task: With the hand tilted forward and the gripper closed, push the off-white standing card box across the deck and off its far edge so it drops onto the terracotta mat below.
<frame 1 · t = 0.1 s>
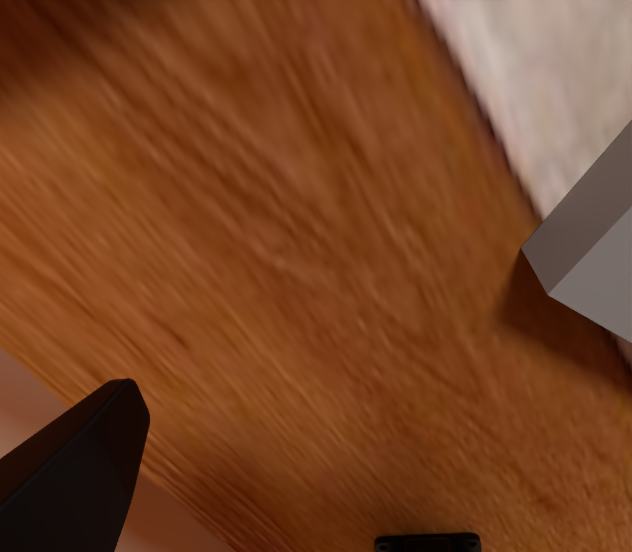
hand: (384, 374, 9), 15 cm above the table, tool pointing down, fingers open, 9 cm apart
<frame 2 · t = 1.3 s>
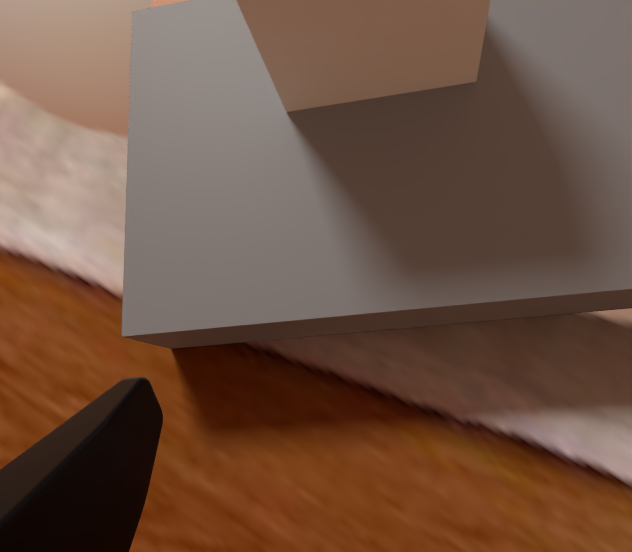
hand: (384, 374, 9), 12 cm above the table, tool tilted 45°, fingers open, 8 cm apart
card box: (373, 50, 20), point 4 cm above the table, touching deck
deck: (387, 169, 23), on the table
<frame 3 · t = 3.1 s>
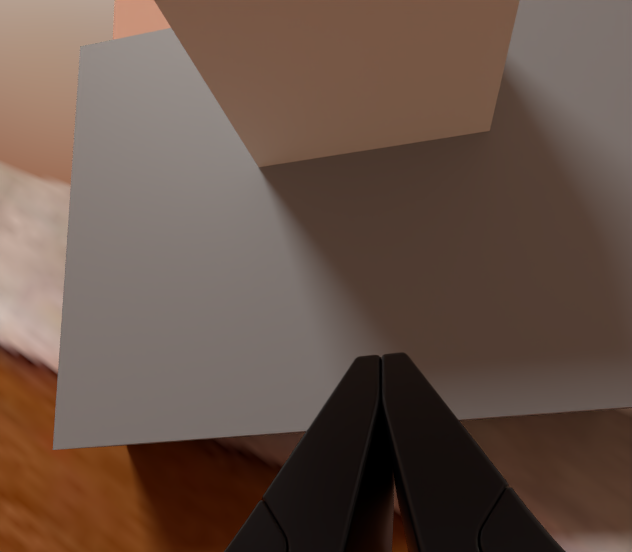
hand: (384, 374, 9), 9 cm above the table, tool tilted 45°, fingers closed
card box: (363, 92, 17), point 4 cm above the table, touching deck
deck: (382, 227, 20), on the table
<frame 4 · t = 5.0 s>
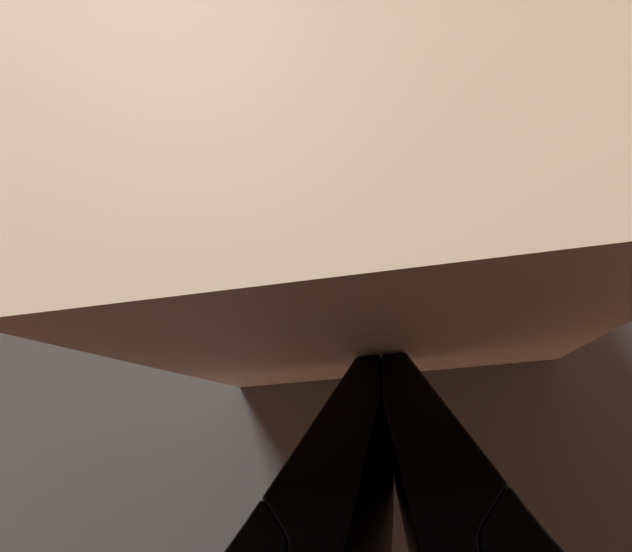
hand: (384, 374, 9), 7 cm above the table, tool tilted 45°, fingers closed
card box: (381, 287, 12), point 4 cm above the table
deck: (407, 471, 15), on the table
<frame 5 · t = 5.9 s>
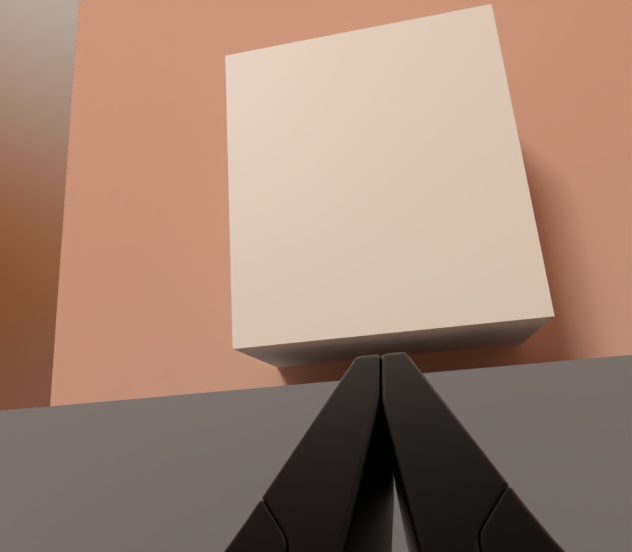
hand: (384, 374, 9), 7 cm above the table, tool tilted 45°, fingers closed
card box: (390, 346, 14), point 2 cm above the table, tilted 90°, touching mat
mat: (370, 137, 18), on the table
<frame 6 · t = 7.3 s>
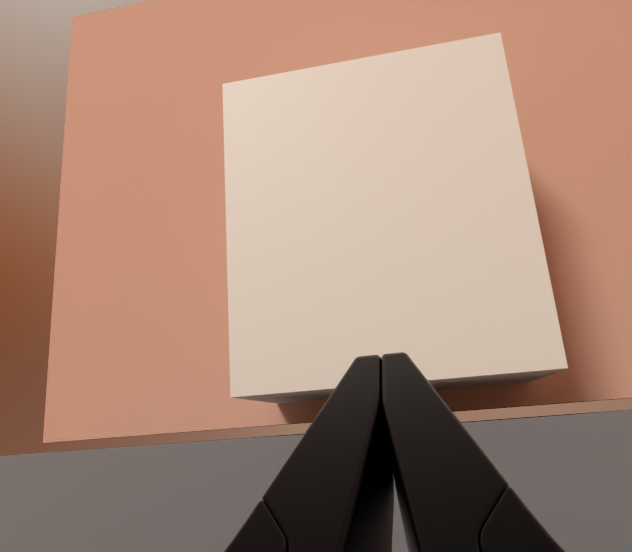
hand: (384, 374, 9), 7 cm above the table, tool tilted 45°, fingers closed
card box: (395, 389, 13), point 2 cm above the table, tilted 90°, touching mat
mat: (372, 162, 17), on the table
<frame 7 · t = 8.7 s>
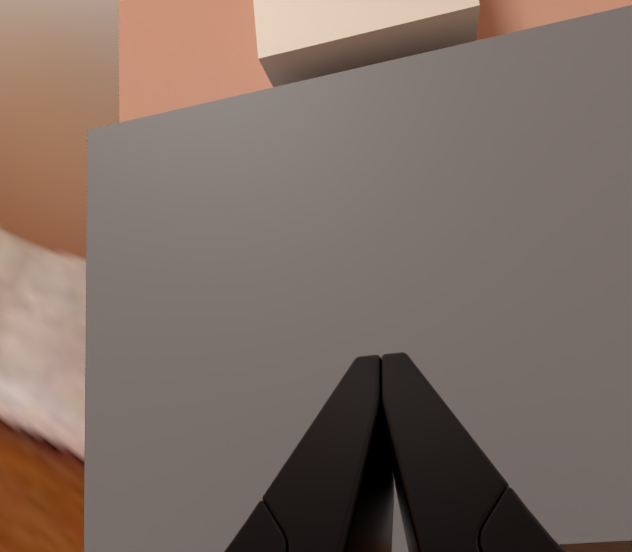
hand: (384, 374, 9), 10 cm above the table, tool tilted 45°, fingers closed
card box: (372, 70, 19), point 2 cm above the table, tilted 90°, touching mat
deck: (409, 304, 19), on the table
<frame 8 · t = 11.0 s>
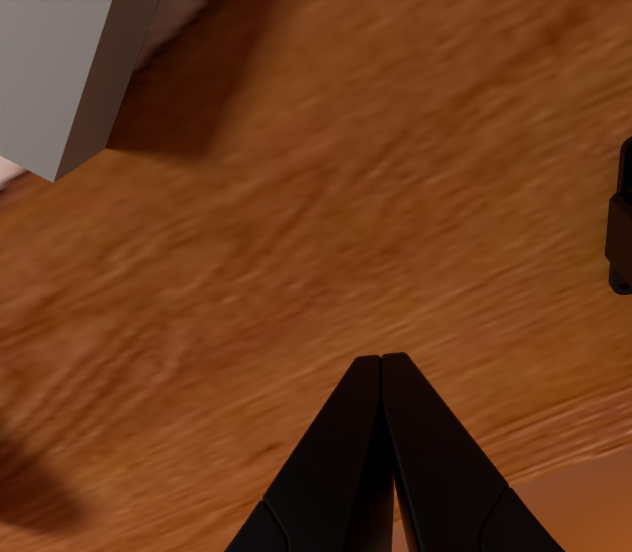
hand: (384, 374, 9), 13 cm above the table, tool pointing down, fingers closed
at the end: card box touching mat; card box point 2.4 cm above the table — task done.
